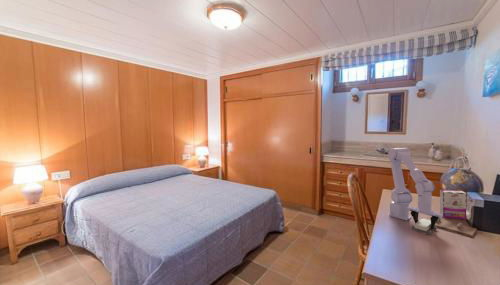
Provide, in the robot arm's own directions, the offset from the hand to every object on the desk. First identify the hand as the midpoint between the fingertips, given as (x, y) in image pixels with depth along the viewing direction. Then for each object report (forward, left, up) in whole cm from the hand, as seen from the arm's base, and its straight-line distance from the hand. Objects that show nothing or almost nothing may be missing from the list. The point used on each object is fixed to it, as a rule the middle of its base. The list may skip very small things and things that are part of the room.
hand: (424, 226), depth 114 cm
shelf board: (0, 0, 0) cm, 0 cm away
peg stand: (+7, +14, -2) cm, 16 cm away
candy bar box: (+5, +32, -2) cm, 32 cm away
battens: (0, 0, -2) cm, 2 cm away
